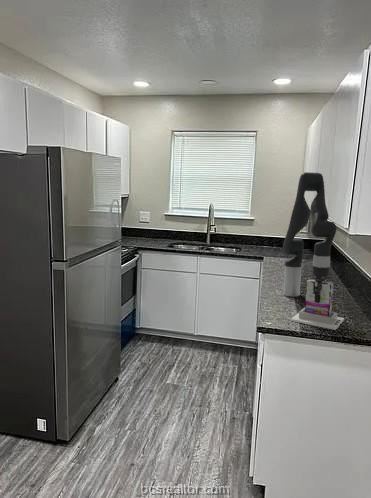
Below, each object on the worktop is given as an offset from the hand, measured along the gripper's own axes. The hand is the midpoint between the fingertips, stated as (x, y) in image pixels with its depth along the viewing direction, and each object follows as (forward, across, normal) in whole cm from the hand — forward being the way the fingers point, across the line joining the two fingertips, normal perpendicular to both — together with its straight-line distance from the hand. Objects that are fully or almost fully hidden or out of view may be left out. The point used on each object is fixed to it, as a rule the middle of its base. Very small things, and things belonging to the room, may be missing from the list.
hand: (318, 300), depth 173 cm
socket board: (+9, 0, 0) cm, 9 cm away
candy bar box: (+7, 0, 0) cm, 7 cm away
